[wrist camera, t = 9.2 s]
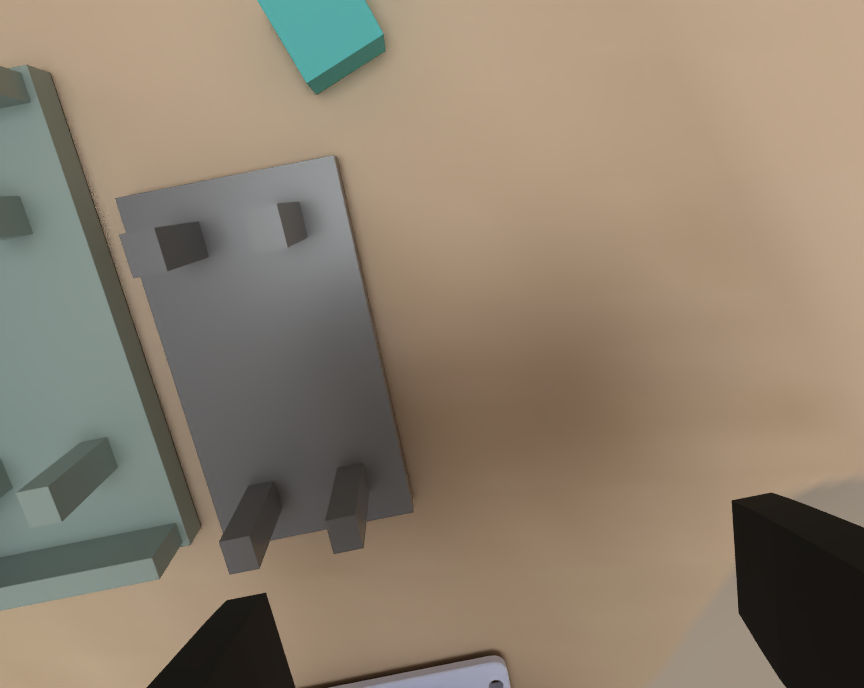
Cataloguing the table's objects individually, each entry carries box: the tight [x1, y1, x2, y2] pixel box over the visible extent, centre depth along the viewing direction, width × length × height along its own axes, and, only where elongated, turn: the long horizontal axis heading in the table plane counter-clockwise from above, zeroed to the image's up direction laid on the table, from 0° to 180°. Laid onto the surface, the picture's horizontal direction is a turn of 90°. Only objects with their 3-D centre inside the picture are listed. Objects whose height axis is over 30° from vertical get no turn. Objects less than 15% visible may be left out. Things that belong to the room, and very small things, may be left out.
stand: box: [115, 155, 413, 574], centre depth 16 cm, size 11×6×4 cm, turn 11°
